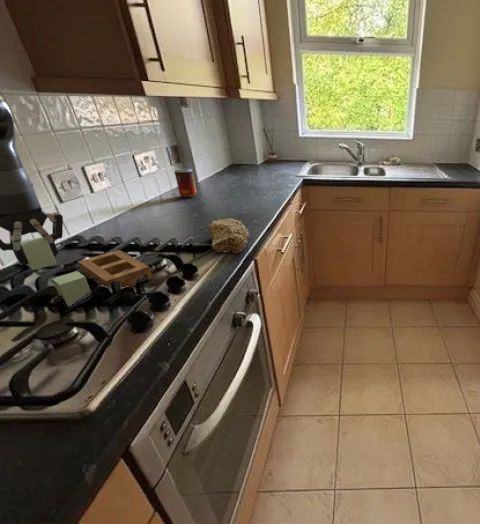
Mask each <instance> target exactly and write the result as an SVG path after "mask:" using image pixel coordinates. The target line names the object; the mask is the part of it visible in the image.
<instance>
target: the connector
mask: <svg viewBox="0 0 480 524" xmlns="http://www.w3.org/2000/svg"><path fill="white" fill-rule="evenodd" d="M77 264H78V266H79V269H80V271H81V270H82V271H83V273H84V274H85V275H86V276H87V277H86V276H85V275H84V274H83V275H84V276H85V277H86V278H88V277H91V276H95V277H96V278H97V279H98V284H99V285H104V286H107V287H109V288H110V287H111V283H112V282H114V281H121V287H126V286H132V287H134V284H135V281H136V280H137V279H138V278H139V277H141V276H143V275H145V274H147V275H148V279H149V280H148V281H151V280H153V275H152V272H151V268H150V266H149V265H147V264H145V263H143V262H142V261H140V260H138V259H136V258H135V257H133V256H131V255H129V254H128V253H126V252H124V251H122V250H120V249H117V250H114V251H110V252H107V253H103V254H100V255H95V256H92V257H89V258H85V259H82V260H78V261H77ZM128 268H131V269H130V270H127V271H124V270H126V269H128ZM82 271H81V272H82ZM122 271H124V272H122ZM120 272H121V273H120ZM98 284H97V285H98ZM99 285H98V286H99Z"/></svg>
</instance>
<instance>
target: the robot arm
mask: <svg viewBox="0 0 480 524" xmlns="http://www.w3.org/2000/svg"><path fill="white" fill-rule="evenodd" d="M14 119H15V118H14V114H13V111H12V109H11V107H10V105H9V103H8V102H7V101H6V99H5V98H4V97H3V96H2V95H1V94H0V228H2V229H3V230H6V231H8V232H9V233H8V234H9V236H8V237H9V242H4V241H3V239H1V238H0V250H1V251H4V252H5V251H12V252H13V254H14V257H15V258H16V260H17V262H19V263H20V264H24V265H26V266H27V264H29V263H28V260H27V258H26V256H25V254H24V251H23V250H22V249H21V241H22V236H25V235H28V234H35V233H37V234H38V235H39V236H40V237H42V238H44V239H45V240H46V241H48V244H49V246H50V248H51V251H52V253H53V256H54V258H56V257H57V255H59V250H58V248H57V245H56V243H55V242H56V241H57V240H59V239H62V238H63V234H64V233H63V231H64V230H63V229H64V228H63V227H64V226H63V225H64V223H63V222H64V216H63V215H62V214H61V213H59V212H53V213H52V212H51V213H50V212H46V211H45V210H43V209H42V206H41V203H40V201H39V198H38V196H37V193H36V190H35V188H34V184H33V182H32V180H31V179H30V176H29V175H28V172H27V171H26V170H25V167H24V165H23V162H22V160H21V157H20V154H19V153H18V150H17V148H16V132H15V120H14ZM47 219H49V222H50V223H52V228H51V229H52V233H51V234H49V233H48V231H47V230H46V229H45V228H44V225H45V224H46V221H47Z"/></svg>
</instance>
